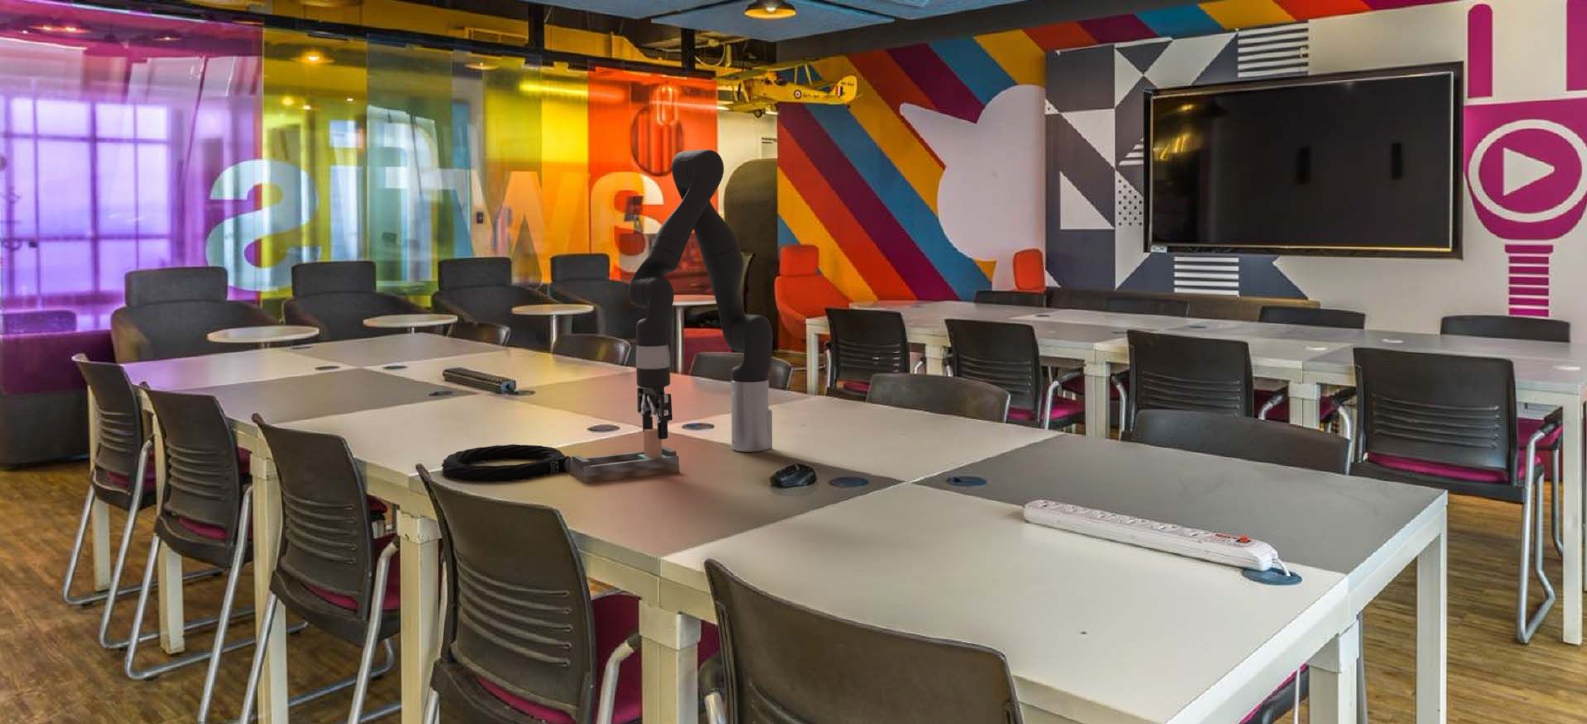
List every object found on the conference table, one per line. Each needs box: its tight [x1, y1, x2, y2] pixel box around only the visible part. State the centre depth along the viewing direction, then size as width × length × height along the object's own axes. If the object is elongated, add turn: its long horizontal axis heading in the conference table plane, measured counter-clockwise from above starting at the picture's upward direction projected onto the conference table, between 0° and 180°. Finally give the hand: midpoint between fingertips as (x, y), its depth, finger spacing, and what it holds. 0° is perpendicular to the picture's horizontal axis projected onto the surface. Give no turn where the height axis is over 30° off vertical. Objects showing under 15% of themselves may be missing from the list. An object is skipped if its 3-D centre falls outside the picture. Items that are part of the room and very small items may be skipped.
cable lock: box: [440, 443, 572, 482], centre depth 262 cm, size 28×4×30 cm
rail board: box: [569, 445, 680, 484], centre depth 257 cm, size 22×10×4 cm, turn 120°
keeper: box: [637, 428, 667, 460], centre depth 260 cm, size 5×6×8 cm
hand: (655, 435), depth 260 cm, fingers open, 8 cm apart
